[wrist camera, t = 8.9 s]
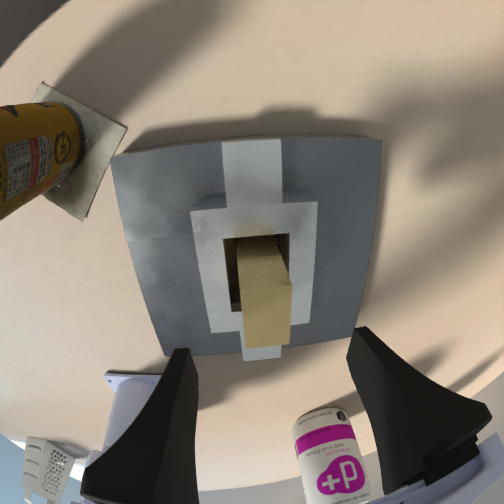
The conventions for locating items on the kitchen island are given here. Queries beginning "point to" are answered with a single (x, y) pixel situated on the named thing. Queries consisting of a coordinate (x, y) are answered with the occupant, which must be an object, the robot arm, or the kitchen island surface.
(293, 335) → the grey square plate
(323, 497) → the supplement can
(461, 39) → the kitchen island surface
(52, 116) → the condiment
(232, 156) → the bracket
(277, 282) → the wooden rectangular block
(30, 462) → the grater
